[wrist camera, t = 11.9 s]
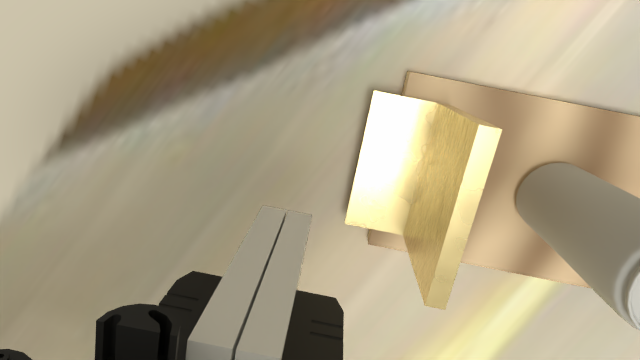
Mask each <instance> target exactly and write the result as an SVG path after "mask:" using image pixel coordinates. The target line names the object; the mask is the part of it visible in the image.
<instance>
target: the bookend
mask: <svg viewBox="0 0 640 360" xmlns="http://www.w3.org/2000/svg"><path fill="white" fill-rule="evenodd" d="M501 132H502V129H500V128H498V127H496V126H494V125H492V124H490V123H488V122H486V121H484V120H482V119H479V118H477V117H475V116H473V115H471V114H469V113H467V112H465V111H463V110H461V109H458V108H456V107H454V106H452V105H448V104H443V103H437V102H432V101H427V100H422V99H417V98H412V97H407V96H402V95H397V94H392V93H386V92H381V91H376V90H373V95H372V99H371V104H370V108H369V113H368V117H367V122H366V126H365V131H364V136H363V140H362V145H361V149H360V154H359V158H358V163H357V167H356V172H355V176H354V181H353V185H352V190H351V194H350V199H349V204H348V208H347V213H346V217H345V224H349V225H354V226H359V227H364V228H369V229H374V230H379V231H384V232H389V233H394V234H399V235H403V238H404V241H405V244H406V247H407V250H408V253H409V257H410V260H411V263H412V266H413V269H414V273H415V276H416V279H417V282H418V285H419V289H420V292H421V295H422V298H423V301H424V305H425V306H429V307H434V308H439V309H444V310H445V309H446V305H447V302H448V299H449V296H450V293H451V290H452V286H453V283H454V280H455V277H456V274H457V271H458V268H459V264H460V261H461V258H462V255H463V252H464V249H465V245H466V242H467V239H468V236H469V233H470V230H471V227H472V223H473V220H474V217H475V214H476V211H477V208H478V205H479V201H480V198H481V195H482V192H483V189H484V186H485V182H486V179H487V176H488V173H489V170H490V167H491V164H492V160H493V157H494V154H495V151H496V148H497V145H498V142H499V138H500V135H501Z"/></svg>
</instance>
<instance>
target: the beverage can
mask: <svg viewBox="0 0 640 360" xmlns="http://www.w3.org/2000/svg"><path fill="white" fill-rule="evenodd" d="M516 206H517V209H518V212H519V214H520V216H521V217H522V219H523V220H524V221H525V222H526V223H527V224H528V225H529V226H530V227H531V228H532V229H533V230H534V231H535V232H536V233H537V234H538V235H539V236H540V237H541V238H542V239H543V240H544V241H545V242H546V243H547V244H548V245H549V246H550V247H551V248H553V249H554V250H555V251H556V252H557V253H558V254H559V255H560V256H561V257H562V258H563V259H564V260H565V261H566V262H567V263H568V264H569V266H570V267H571V268H572V269H573V270H574V271H575V272H576V273H577V274H578V275H579V276H580V277H581V278H582V279H583V280H584V281H585V282H586V283H587V284H588V285H589V286H590V287H591V288H592V289H593V290H594V291H595V292H596V293H597V294H598V295H599V296H600V297H601V298H602V299H603V300H604V301H605V302H606V303H607V304H608V305H609V306H610V307H611V308H612V309H613V310H614V311H615V312H616V313H617V314H618V315H619V316H620V317H622V318H623V319H624V320H625V321H626V322H628V323H629V324H630V325H631V326H632V327H634V328H636V329H638V330H640V198H638V197H636V196H634V195H632V194H630V193H628V192H626V191H624V190H622V189H620V188H618V187H616V186H614V185H612V184H610V183H608V182H606V181H604V180H602V179H600V178H598V177H596V176H594V175H592V174H590V173H589V172H587V171H585V170H583V169H581V168H578V167H576V166H574V165H572V164H567V163H550V164H547V165H544V166H541V167H539V168H538V169H536V170H534V171H533V172H531V173H530V174H529V175H528V176H527V177H526V178H525V179H524V181H523V182H522V184H521V185H520V187H519V189H518V193H517V196H516Z"/></svg>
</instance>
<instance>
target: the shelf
mask: <svg viewBox="0 0 640 360" xmlns="http://www.w3.org/2000/svg"><path fill="white" fill-rule="evenodd" d="M402 96H407V97H412V98H417V99H422V100H427V101H432V102H437V103H443V104H448V105H452V106H454V107H456V108H458V109H461V110H463V111H465V112H467V113H469V114H471V115H473V116H475V117H477V118H479V119H482V120H484V121H486V122H488V123H490V124H492V125H494V126H496V127H498V128H500V129H502V132H501V135H500V138H499V142H498V145H497V148H496V151H495V154H494V157H493V160H492V164H491V167H490V170H489V173H488V176H487V179H486V182H485V186H484V189H483V192H482V195H481V198H480V201H479V205H478V208H477V211H476V214H475V217H474V220H473V223H472V227H471V230H470V233H469V236H468V239H467V242H466V245H465V249H464V252H463V255H462V258H461V261H460V262H461V263H466V264H471V265H476V266H481V267H486V268H491V269H496V270H501V271H506V272H511V273H517V274H522V275H527V276H532V277H537V278H542V279H547V280H552V281H557V282H562V283H567V284H572V285H577V286H582V287H587V288H591V287H590V286H589V285H588V284H587V283H586V282H585V281H584V280H583V279H582V278H581V277H580V276H579V275H578V274H577V273H576V272H575V271H574V270H573V269H572V268H571V267H570V266H569V264H568V263H567V262H566V261H565V260H564V259H563V258H562V257H561V256H560V255H559V254H558V253H557V252H556V251H555V250H554V249H553V248H551V247H550V246H549V245H548V244H547V243H546V242H545V241H544V240H543V239H542V238H541V237H540V236H539V235H538V234H537V233H536V232H535V231H534V230H533V229H532V228H531V227H530V226H529V225H528V224H527V223H526V222H525V221H524V220H523V219H522V217H521V216H520V214H519V212H518V209H517V206H516V196H517V193H518V189H519V187H520V185H521V184H522V182H523V181H524V179H525V178H526V177H527V176H528V175H529V174H530V173H531V172H533V171H534V170H536V169H538V168H539V167H541V166H544V165H547V164H550V163H567V164H572V165H574V166H576V167H578V168H581V169H583V170H585V171H587V172H589V173H590V174H592V175H594V176H596V177H598V178H600V179H602V180H604V181H606V182H608V183H610V184H612V185H614V186H616V187H618V188H620V189H622V190H624V191H626V192H628V193H630V194H632V195H634V196H636V197H638V198H640V117H639V116H634V115H629V114H624V113H619V112H614V111H609V110H604V109H598V108H593V107H588V106H583V105H578V104H573V103H568V102H563V101H558V100H553V99H547V98H542V97H537V96H532V95H527V94H522V93H517V92H512V91H507V90H501V89H496V88H491V87H486V86H481V85H476V84H471V83H466V82H461V81H456V80H450V79H445V78H440V77H435V76H430V75H425V74H420V73H415V72H410V71H407V75H406V79H405V84H404V88H403V92H402ZM368 244H370V245H375V246H380V247H385V248H390V249H395V250H400V251H405V252H408V250H407V247H406V244H405V241H404V238H403V235H399V234H394V233H389V232H384V231H379V230H374V229H369V233H368Z"/></svg>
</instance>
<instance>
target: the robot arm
mask: <svg viewBox="0 0 640 360" xmlns="http://www.w3.org/2000/svg"><path fill="white" fill-rule="evenodd" d="M285 215H286V210H285V209H280V208H275V207H269V206H264V205H263V206H262V208H261V209H260V211H259V213H258V215H257V217H256V218H255V220H254V222H253V224H252V226H251V227H250V229H249V231H248V233H247V235H246V236H245V238H244V240H243V242H242V243H241V245H240V247H239V249H238V251H237V252H236V254H235V256H234V258H233V260H232V261H231V263H230V265H229V267H228V268H227V270H226V272H225V274H224V276H223V277H220V276H215V275H210V274H205V273H200V272H195V271H192V272H190V273H189V274H187V275H185V276H183V277H181V278H180V279H178V280H176V282H175V283H174V284H173V286H172V287H171V288H170V290H169V291H168V292H167V295H165V296H164V298H163V299H162V300H161V302H160V303H159V306H156V305H149V304H134V305H127V306H122V307H119V308H117V309H114V310H111V311H109V312H107V313H106V314H104V315H103V316H102V317H100V318H99V319H98V320H96V344H95V360H343V317H344V312H343V310H342V308H341V306H340V305H339V303H338V301H337V300H336V298H333V297H328V296H323V295H318V294H313V293H308V292H303V291H298V285H299V280H300V275H301V269H302V264H303V259H304V254H305V249H306V244H307V239H308V234H309V228H310V223H311V218H312V215H310V214H305V213H300V212H295V211H290V210H288V213H287V216H286V218H285ZM0 360H32V359H31V358H30V357H28V356H27V355H26V354H25V353H23V352H19V351H15V350H10V349H0Z"/></svg>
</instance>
